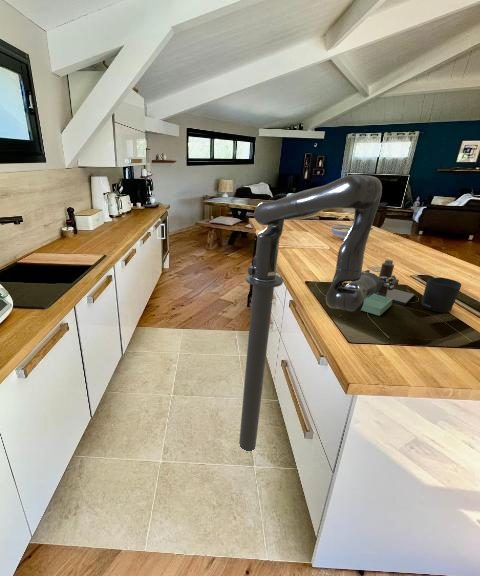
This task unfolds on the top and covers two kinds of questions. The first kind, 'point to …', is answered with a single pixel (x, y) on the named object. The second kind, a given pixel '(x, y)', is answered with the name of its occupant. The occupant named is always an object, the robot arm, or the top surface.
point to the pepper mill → (386, 273)
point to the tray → (376, 304)
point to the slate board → (397, 296)
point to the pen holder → (440, 294)
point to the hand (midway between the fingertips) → (380, 275)
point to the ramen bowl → (341, 230)
